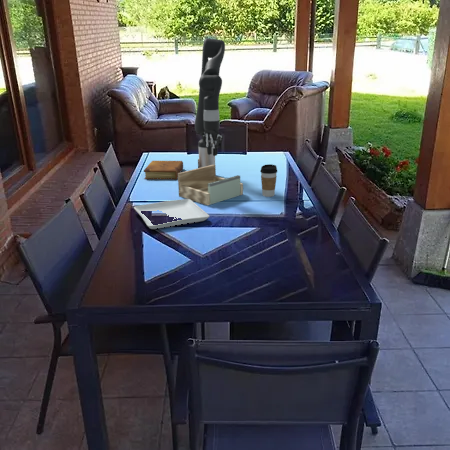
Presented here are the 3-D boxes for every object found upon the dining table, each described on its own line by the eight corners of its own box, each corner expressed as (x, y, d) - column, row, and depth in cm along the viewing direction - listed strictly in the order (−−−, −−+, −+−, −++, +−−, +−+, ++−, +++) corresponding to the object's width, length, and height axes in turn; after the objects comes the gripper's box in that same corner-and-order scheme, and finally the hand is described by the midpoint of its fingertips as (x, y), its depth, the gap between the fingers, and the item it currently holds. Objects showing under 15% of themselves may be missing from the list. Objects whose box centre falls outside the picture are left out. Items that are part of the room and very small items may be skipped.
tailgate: (208, 203, 238) (207, 183, 234) (238, 194, 251) (238, 175, 247) (210, 204, 237) (210, 184, 233) (240, 195, 250) (240, 175, 246)
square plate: (133, 213, 228) (132, 205, 227) (189, 205, 238) (189, 197, 237) (148, 233, 205) (148, 224, 204) (210, 223, 215) (210, 215, 213)
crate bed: (178, 196, 250) (177, 173, 246) (214, 186, 266) (213, 164, 261) (207, 206, 236) (206, 181, 231) (242, 194, 251) (242, 171, 247)
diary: (177, 180, 280) (176, 170, 278) (144, 180, 281) (143, 170, 279) (183, 169, 301) (182, 160, 299) (152, 169, 303) (152, 160, 301)
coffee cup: (279, 194, 251) (279, 165, 246) (273, 198, 244) (274, 169, 239) (263, 192, 255) (264, 163, 249) (257, 196, 248) (257, 167, 242)
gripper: (195, 118, 238) (197, 154, 244) (215, 121, 228) (216, 158, 235) (207, 116, 243) (208, 151, 249) (227, 119, 233) (228, 155, 239)
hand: (212, 154), depth 242 cm, fingers open, 3 cm apart
